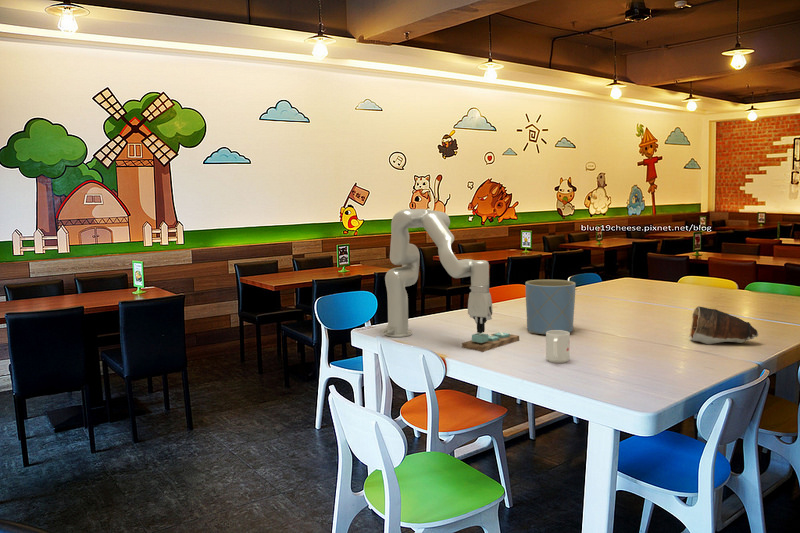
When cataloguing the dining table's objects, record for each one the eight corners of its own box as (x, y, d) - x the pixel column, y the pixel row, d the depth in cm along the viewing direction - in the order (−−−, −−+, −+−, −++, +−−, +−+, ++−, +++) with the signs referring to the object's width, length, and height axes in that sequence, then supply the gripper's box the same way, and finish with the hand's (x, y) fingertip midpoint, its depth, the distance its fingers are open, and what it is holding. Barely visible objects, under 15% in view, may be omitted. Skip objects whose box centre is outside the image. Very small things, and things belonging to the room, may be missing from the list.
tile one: (481, 343, 253) (481, 336, 253) (471, 341, 256) (471, 334, 256) (488, 340, 256) (488, 334, 256) (478, 339, 260) (478, 332, 260)
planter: (534, 325, 299) (534, 278, 297) (580, 329, 288) (581, 280, 285) (518, 334, 280) (518, 284, 277) (567, 339, 268) (567, 287, 266)
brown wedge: (767, 320, 245) (700, 306, 252) (758, 356, 246) (692, 341, 253) (756, 317, 259) (694, 304, 266) (748, 352, 260) (686, 338, 267)
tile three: (503, 341, 265) (503, 335, 264) (493, 340, 268) (493, 333, 268) (509, 339, 268) (509, 333, 268) (500, 338, 272) (500, 331, 271)
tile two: (492, 345, 259) (492, 338, 258) (483, 343, 262) (483, 336, 262) (499, 343, 262) (499, 336, 262) (489, 341, 266) (489, 334, 266)
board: (482, 351, 249) (482, 347, 249) (461, 347, 257) (461, 343, 256) (519, 340, 268) (519, 335, 268) (498, 336, 276) (498, 332, 276)
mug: (547, 356, 240) (547, 329, 238) (570, 358, 236) (571, 330, 235) (542, 364, 229) (543, 335, 227) (566, 366, 225) (567, 337, 224)
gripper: (460, 289, 256) (461, 331, 258) (489, 292, 246) (490, 336, 248) (471, 287, 262) (472, 328, 264) (500, 289, 251) (500, 333, 253)
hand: (480, 332), depth 256 cm, fingers closed
